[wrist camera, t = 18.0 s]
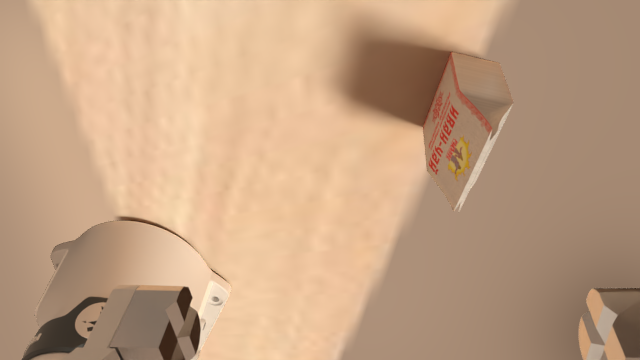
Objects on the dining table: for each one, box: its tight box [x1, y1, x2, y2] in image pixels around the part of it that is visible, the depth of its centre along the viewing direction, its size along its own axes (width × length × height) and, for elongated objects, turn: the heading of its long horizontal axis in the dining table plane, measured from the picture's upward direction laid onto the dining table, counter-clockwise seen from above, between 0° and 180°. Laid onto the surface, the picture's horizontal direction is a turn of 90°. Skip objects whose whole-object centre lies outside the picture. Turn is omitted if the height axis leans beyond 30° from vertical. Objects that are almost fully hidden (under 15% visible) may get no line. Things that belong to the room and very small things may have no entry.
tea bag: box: [423, 52, 514, 211], centre depth 39 cm, size 4×7×10 cm, turn 169°
